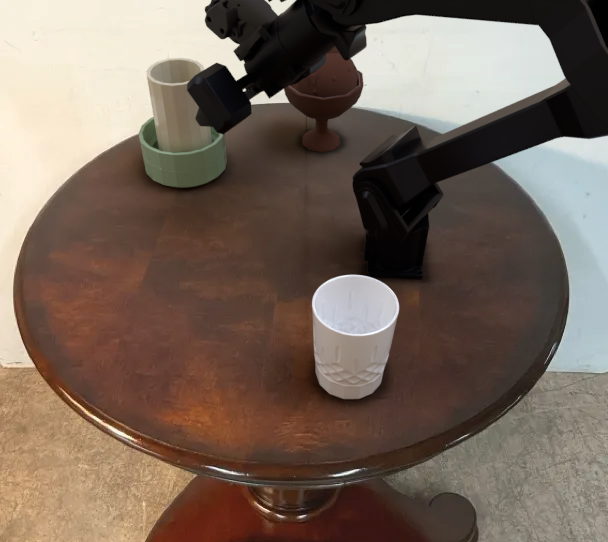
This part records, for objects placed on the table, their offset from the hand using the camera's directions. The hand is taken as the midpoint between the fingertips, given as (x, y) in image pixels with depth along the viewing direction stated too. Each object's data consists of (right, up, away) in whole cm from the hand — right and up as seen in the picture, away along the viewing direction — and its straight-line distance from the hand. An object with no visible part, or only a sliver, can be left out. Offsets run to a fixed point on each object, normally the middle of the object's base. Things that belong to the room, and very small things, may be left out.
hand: (223, 105), depth 83 cm
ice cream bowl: (+12, 0, +17) cm, 20 cm away
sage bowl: (-6, -4, +12) cm, 14 cm away
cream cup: (-6, -4, +11) cm, 14 cm away
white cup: (+14, -32, -13) cm, 37 cm away
